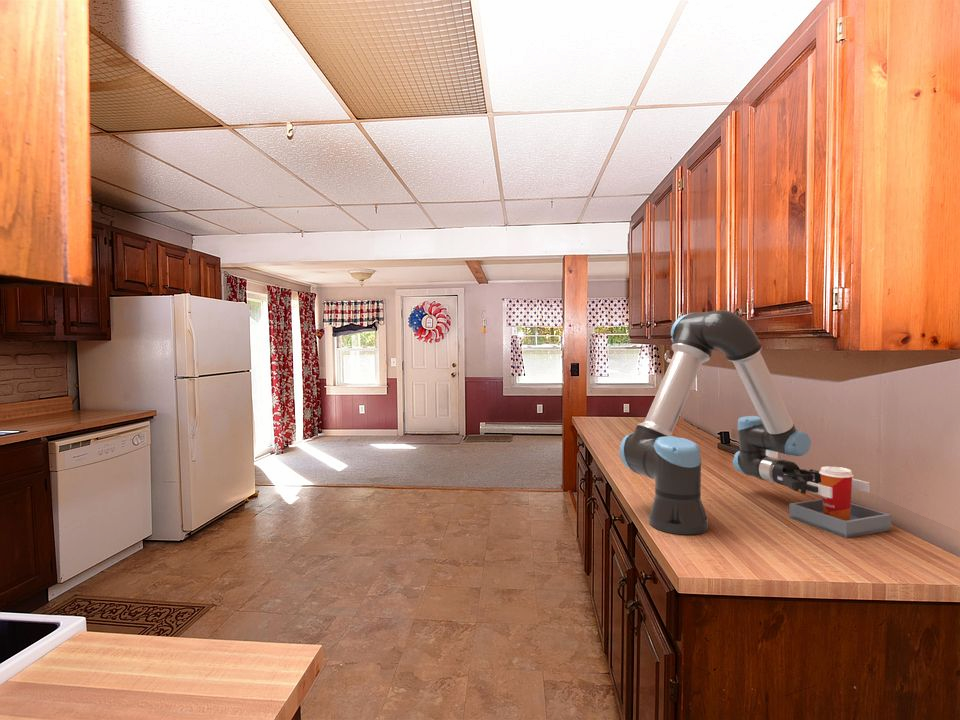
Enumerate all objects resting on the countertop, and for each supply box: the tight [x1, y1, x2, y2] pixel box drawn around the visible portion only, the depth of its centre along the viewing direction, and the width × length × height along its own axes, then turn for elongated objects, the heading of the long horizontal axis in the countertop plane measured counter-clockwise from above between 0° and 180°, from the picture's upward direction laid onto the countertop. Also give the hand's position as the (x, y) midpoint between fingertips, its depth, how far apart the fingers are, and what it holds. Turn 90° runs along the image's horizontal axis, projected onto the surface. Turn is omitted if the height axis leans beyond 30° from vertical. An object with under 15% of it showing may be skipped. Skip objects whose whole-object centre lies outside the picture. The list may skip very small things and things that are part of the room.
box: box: [788, 498, 892, 539], centre depth 134 cm, size 16×16×4 cm
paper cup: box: [818, 465, 855, 521], centre depth 134 cm, size 8×8×14 cm
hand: (850, 490), depth 130 cm, fingers open, 13 cm apart
